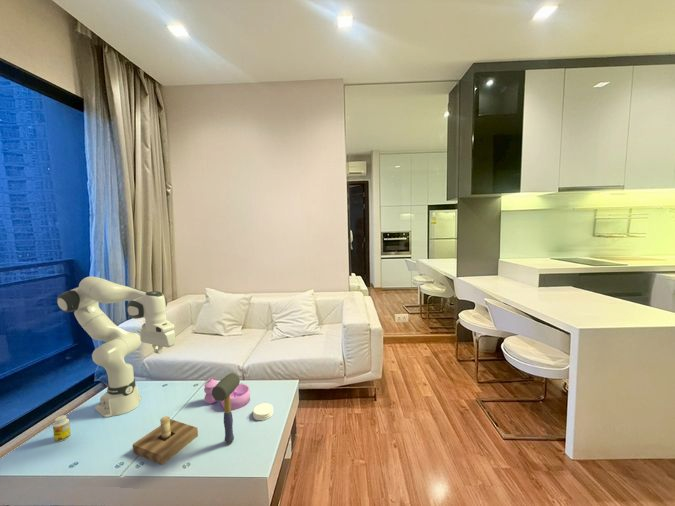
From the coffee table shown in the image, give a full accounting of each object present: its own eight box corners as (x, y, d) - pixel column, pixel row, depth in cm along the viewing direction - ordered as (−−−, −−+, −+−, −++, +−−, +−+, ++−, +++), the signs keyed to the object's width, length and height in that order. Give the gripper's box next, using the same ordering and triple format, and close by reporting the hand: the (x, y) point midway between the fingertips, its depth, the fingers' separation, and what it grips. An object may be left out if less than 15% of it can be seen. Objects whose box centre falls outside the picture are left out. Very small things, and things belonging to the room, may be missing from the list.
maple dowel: (160, 445, 131) (158, 420, 130) (167, 440, 134) (165, 415, 133) (166, 447, 130) (164, 422, 129) (173, 442, 133) (171, 417, 132)
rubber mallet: (229, 453, 125) (225, 386, 123) (213, 451, 127) (209, 385, 124) (244, 433, 137) (240, 372, 135) (229, 432, 139) (225, 371, 136)
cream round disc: (249, 418, 149) (248, 412, 148) (260, 407, 158) (260, 401, 158) (265, 422, 145) (265, 416, 145) (276, 411, 154) (276, 404, 154)
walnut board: (133, 452, 127) (132, 444, 127) (170, 426, 144) (170, 419, 143) (161, 464, 120) (161, 455, 120) (197, 435, 137) (197, 427, 136)
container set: (253, 394, 170) (252, 372, 169) (243, 410, 155) (242, 386, 154) (212, 393, 172) (211, 372, 171) (198, 409, 157) (196, 386, 156)
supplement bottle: (51, 441, 135) (49, 420, 135) (65, 433, 141) (63, 413, 140) (59, 443, 134) (57, 422, 133) (73, 435, 139) (71, 415, 138)
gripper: (135, 324, 142) (137, 352, 143) (164, 329, 134) (166, 358, 136) (148, 320, 148) (150, 347, 149) (177, 325, 140) (178, 353, 141)
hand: (158, 353), depth 142 cm, fingers closed
